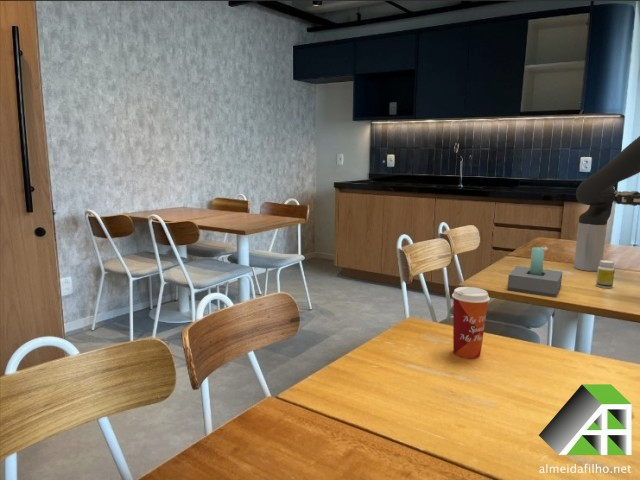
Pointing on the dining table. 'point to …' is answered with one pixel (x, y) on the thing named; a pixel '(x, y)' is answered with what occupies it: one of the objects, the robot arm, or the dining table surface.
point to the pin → (537, 261)
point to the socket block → (535, 282)
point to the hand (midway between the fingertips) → (599, 196)
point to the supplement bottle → (605, 274)
